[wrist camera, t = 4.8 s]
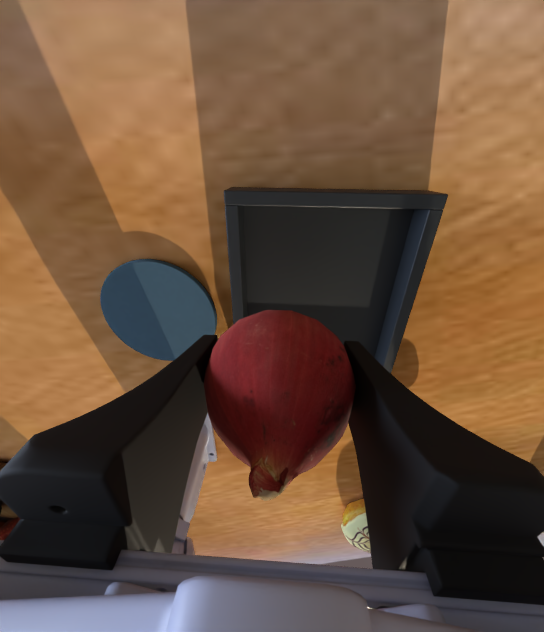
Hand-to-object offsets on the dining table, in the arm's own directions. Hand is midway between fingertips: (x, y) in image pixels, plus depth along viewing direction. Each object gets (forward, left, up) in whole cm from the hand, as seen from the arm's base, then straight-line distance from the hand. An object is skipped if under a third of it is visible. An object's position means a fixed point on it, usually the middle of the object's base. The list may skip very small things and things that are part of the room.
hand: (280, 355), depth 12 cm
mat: (-3, +10, -9) cm, 14 cm away
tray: (-2, -3, -9) cm, 10 cm away
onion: (0, 0, -2) cm, 2 cm away
